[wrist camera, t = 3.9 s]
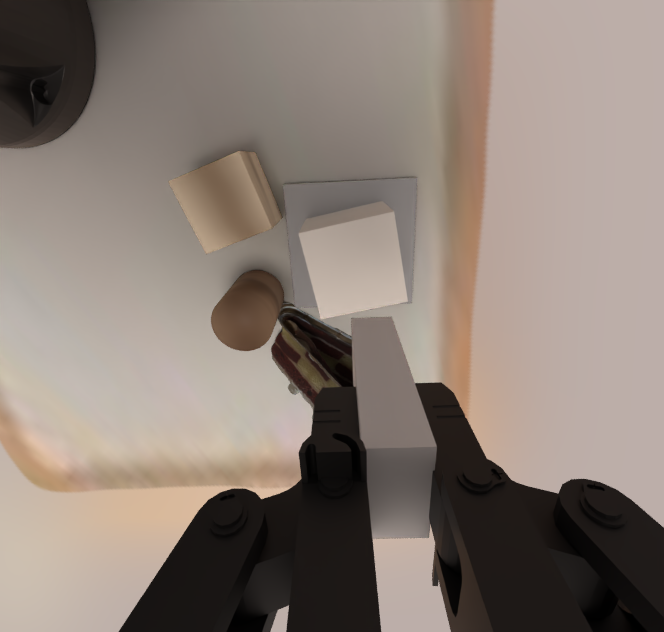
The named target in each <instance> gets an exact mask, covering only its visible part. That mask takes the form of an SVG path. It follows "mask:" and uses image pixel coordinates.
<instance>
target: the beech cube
mask: <svg viewBox="0 0 664 632" xmlns="http://www.w3.org/2000/svg"><path fill="white" fill-rule="evenodd" d="M168 182H169V184H170V186H171V188H172V190H173V192H174V194H175V196H176V198H177V200H178V202H179V203H180V205H181V207H182V209H183V211H184V213H185V215H186V217H187V219H188V221H189V223H190V224H191V226H192V228H193V230H194V232H195V234H196V236H197V238H198V240H199V242H200V243H201V245H202V247H203V249H204V251H205V253H206V254H208V253H211V252H213V251H216V250H218V249H221V248H223V247H226V246H229V245H231V244H234V243H236V242H239V241H241V240H244V239H246V238H249V237H252V236H254V235H257V234H259V233H262V232H264V231H267V230H270V229H272V228H273V227H274V226H275V225H276V224H277V223H278V222H279V221H280V220H281V219H282V218H283V217H282V215H281V212H280V210H279V208H278V205H277V203H276V200H275V198H274V196H273V193H272V191H271V189H270V186H269V184H268V181H267V179H266V177H265V174H264V172H263V170H262V167H261V165H260V162H259V160H258V158H257V155H256V153H255V152H244V151H237V152H235V153H233V154H230V155H228V156H226V157H223V158H221V159H219V160H217V161H214V162H212V163H210V164H207V165H205V166H203V167H200V168H198V169H196V170H193V171H191V172H189V173H187V174H184V175H182V176H180V177H177V178H175V179H173V180H170V181H168Z"/></svg>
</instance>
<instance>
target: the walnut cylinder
mask: <svg viewBox="0 0 664 632" xmlns="http://www.w3.org/2000/svg"><path fill="white" fill-rule="evenodd" d="M283 301H284V290H283V287H282V285H281V283H280V282H279V281H278V279H277V278H276V277H274V276H273V275H272V274H270V273H268V272H265V271H261V270H252V271H248V272H246V273H244V274H242V275H241V276H240V277H239V278H238V279H237V280H236V282H235V283H234V284H233V285H232V287H231V288H230V289H229V290H228V291H227V293H226V294H225V295H224V296H223V297H222V299H221V300H220V301H219V302H218V304H217V305H216V306H215V308H214V310H213V312H212V316H211V324H212V328H213V331H214V333H215V335H216V336H217V337H218V339H219V340H220V341H221V342H222V343H224V344H225V345H227V346H228V347H230V348H233V349H236V350H240V351H250V350H255V349H258V348H260V347H261V346H263V345H264V344H265V343H266V342H267V341H268V340H269V338H270V337H271V334H272V332H273V329H274V326H275V323H276V321H277V318H278V315H279V313H280V310H281V307H282V305H283Z"/></svg>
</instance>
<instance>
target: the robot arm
mask: <svg viewBox="0 0 664 632" xmlns="http://www.w3.org/2000/svg"><path fill="white" fill-rule="evenodd" d="M94 66H95V47H94V36H93V29H92V23H91V19H90V14H89V10H88V7H87V4H86V0H0V148H27V147H33V146H38V145H41V144H44V143H47V142H49V141H51V140H53V139H55V138H57V137H58V136H60V135H61V134H63V133H64V132H65V131H66V130H67V129H68V128H69V127H70V126H71V125H72V124H73V123H74V122H75V121H76V119H77V118H78V116H79V115H80V113H81V112H82V110H83V108H84V106H85V104H86V101H87V99H88V96H89V93H90V90H91V86H92V82H93V75H94ZM351 328H352V360H353V386H354V387H325V388H322V389H321V391H320V392H319V393H318V395H317V396H316V397H315V402H314V413H313V424H312V432H311V436H310V437H309V438H308V439H307V440H306V441H305V442H303V443H302V446H301V449H300V451H299V459H300V468H301V477H302V479H301V480H300V481H299V482H298V483H297V484H296V485H295V486H293V487H292V488H290V489H289V490H287V491H284V492H282V493H280V494H277V495H274V496H271V497H268V498H264V499H260V497H259V496H258V495H257V494H256V493H255V492H252V491H250V490H247V489H230V490H227V491H224V492H221V493H219V494H217V495H216V496H214V497H213V498H211V499H209V500H208V501H207V502H206V503H205V504H204V505H203V507H202V508H201V509H200V510H199V511H198V513H197V514H196V516H195V517H194V519H193V520H192V522H191V523H190V525H189V526H188V528H187V529H186V531H185V532H184V534H183V535H182V537H181V538H180V540H179V541H178V543H177V544H176V546H175V547H174V549H173V550H172V552H171V553H170V555H169V557H168V558H167V560H166V561H165V562H164V564H163V566H162V567H161V569H160V570H159V571H158V573H157V575H156V576H155V578H154V579H153V581H152V582H151V584H150V585H149V587H148V588H147V590H146V591H145V593H144V595H143V596H142V597H141V599H140V600H139V602H138V603H137V605H136V606H135V608H134V609H133V611H132V612H131V614H130V615H129V617H128V618H127V620H126V621H125V623H124V625H123V626H122V627H121V629H120V631H119V632H270V631H271V628H272V625H273V622H274V619H275V616H276V613H277V610H278V609H281V608H283V607H286V606H288V605H289V612H288V621H287V631H286V632H381V625H380V615H379V604H378V593H377V583H376V572H375V563H374V551H373V542H372V541H373V540H372V539H385V538H429V531H430V524H431V528H432V532H433V536H434V540H435V552H434V562H433V573H432V577H433V578H432V581H433V586H438V579H439V582H440V587H441V592H442V595H443V600H444V604H445V608H446V612H447V617H448V621H449V625H450V629H451V632H664V528H663V527H662V526H661V525H660V524H659V523H658V522H656V521H655V520H654V519H653V518H651V517H650V516H649V515H648V514H647V513H646V512H645V511H643V510H642V509H641V508H640V507H639V506H638V505H637V504H635V503H634V502H633V501H632V500H631V499H629V498H628V497H626V496H625V495H623V494H622V493H621V492H619V491H618V490H616V489H614V488H611V487H609V486H607V485H605V484H603V483H600V482H596V481H592V480H588V479H574V480H570V481H568V482H566V483H564V484H562V487H561V489H560V491H559V494H557V493H554V492H549V491H545V490H541V489H537V488H532V487H528V486H525V485H522V484H519V483H516V482H514V481H512V480H511V479H510V478H509V477H508V475H507V474H506V473H505V472H504V470H503V469H502V468H501V467H499V466H498V465H496V464H495V463H494V462H492V461H490V460H488V459H487V458H486V456H485V454H484V452H483V450H482V449H481V446H480V444H479V443H478V441H477V439H476V437H475V435H474V433H473V431H472V429H471V427H470V425H469V423H468V421H467V419H466V418H465V415H464V413H463V411H462V409H461V407H460V405H459V403H458V401H457V399H456V397H455V395H454V393H453V392H452V391H451V390H450V389H448V388H447V387H446V386H445V385H444V384H442V383H415V382H414V380H413V377H412V374H411V371H410V368H409V365H408V362H407V359H406V357H405V354H404V351H403V348H402V345H401V342H400V339H399V337H398V334H397V331H396V328H395V325H394V322H393V319H392V317H370V318H351Z"/></svg>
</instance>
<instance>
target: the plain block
mask: <svg viewBox="0 0 664 632" xmlns="http://www.w3.org/2000/svg"><path fill="white" fill-rule="evenodd" d="M298 234H299V238H300V242H301V245H302V249H303V253H304V257H305V261H306V264H307V268H308V272H309V276H310V280H311V283H312V287H313V291H314V295H315V299H316V302H317V306H318V310H319V314H320V318H321V319H325V318H330V317H335V316H340V315H345V314H350V313H355V312H360V311H365V310H369V309H374V308H379V307H384V306H389V305H394V304H399V303H404V302H408V299H407V292H406V285H405V279H404V272H403V266H402V259H401V253H400V246H399V240H398V233H397V227H396V220H395V214H394V211H393V210H392V209H391V208H390V207H389V206H388V205H386V204H385V203H384V202H383V201H380V202H376V203H371V204H367V205H363V206H358V207H354V208H350V209H346V210H341V211H337V212H333V213H329V214H324V215H320V216H316V217H312V218H307V219H306V220H305V222H304V223H303V225H302V227H301V229H300V231H299V233H298Z"/></svg>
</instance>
